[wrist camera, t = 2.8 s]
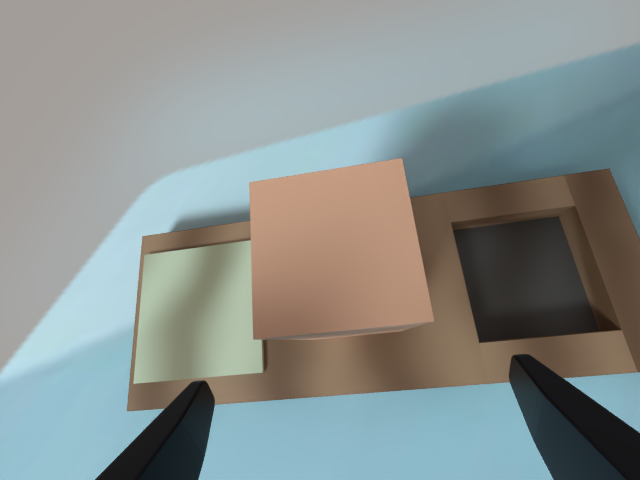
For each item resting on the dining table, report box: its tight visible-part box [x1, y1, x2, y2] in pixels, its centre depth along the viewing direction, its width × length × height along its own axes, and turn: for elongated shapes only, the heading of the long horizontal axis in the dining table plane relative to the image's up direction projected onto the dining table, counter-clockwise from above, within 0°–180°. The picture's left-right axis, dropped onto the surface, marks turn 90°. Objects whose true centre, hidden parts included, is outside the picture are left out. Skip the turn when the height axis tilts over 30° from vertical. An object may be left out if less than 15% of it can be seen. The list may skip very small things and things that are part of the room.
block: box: [249, 158, 434, 340], centre depth 14 cm, size 5×5×10 cm
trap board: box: [127, 169, 640, 411], centre depth 20 cm, size 30×11×2 cm, turn 95°
